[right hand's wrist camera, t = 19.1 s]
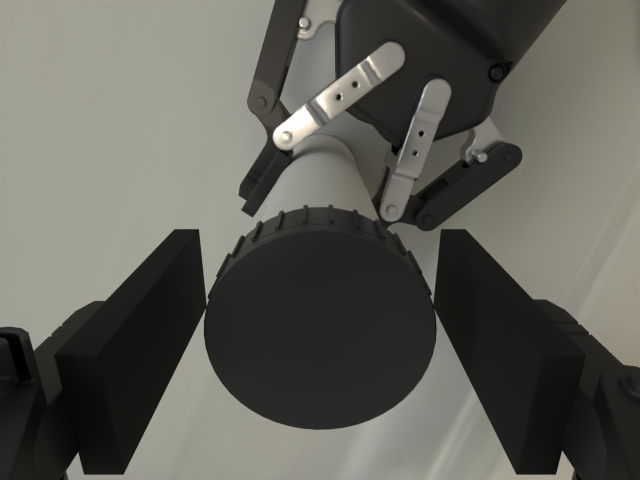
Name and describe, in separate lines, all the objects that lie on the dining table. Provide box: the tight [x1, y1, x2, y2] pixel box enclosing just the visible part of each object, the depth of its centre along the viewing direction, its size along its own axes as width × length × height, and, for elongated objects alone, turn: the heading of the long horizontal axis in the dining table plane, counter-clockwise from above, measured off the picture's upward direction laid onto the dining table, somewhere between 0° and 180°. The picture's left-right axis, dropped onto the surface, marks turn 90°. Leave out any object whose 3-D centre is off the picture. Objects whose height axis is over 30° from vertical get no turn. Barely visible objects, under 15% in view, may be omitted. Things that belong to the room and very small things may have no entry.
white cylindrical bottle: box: [261, 135, 382, 226], centre depth 20 cm, size 5×5×19 cm
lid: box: [204, 204, 437, 430], centre depth 11 cm, size 6×6×2 cm
